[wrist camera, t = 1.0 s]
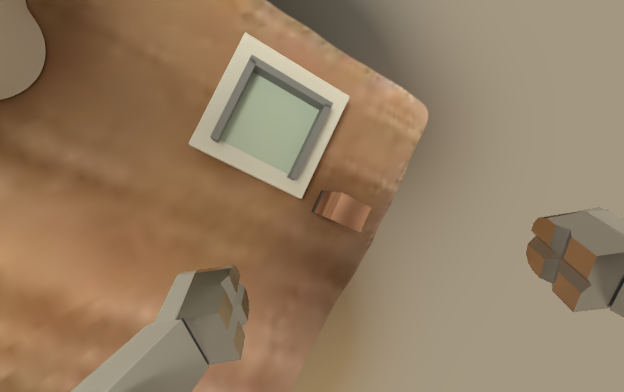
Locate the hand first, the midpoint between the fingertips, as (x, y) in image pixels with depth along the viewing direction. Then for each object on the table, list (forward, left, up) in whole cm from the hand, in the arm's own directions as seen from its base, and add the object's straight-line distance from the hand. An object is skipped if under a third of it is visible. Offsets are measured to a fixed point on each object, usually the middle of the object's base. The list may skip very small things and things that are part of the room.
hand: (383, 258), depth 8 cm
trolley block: (+12, +3, -41) cm, 43 cm away
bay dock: (-3, +11, -41) cm, 43 cm away
